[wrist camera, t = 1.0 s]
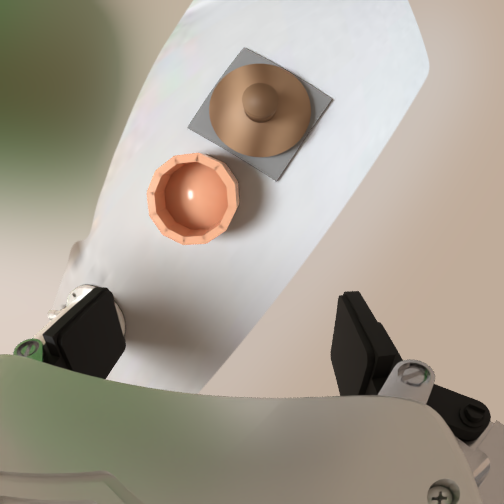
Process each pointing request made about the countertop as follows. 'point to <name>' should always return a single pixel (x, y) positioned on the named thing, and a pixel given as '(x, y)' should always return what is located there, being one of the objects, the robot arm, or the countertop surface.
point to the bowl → (193, 198)
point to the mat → (267, 165)
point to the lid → (260, 110)
